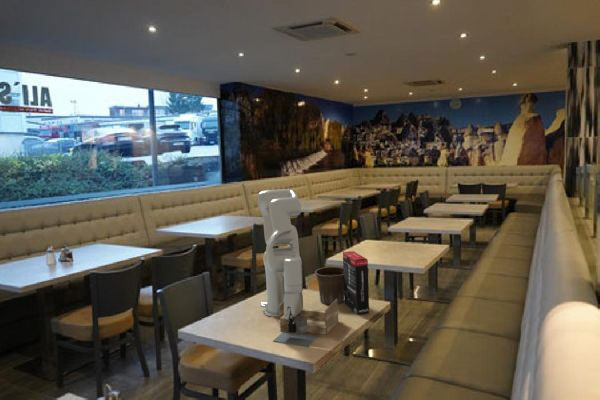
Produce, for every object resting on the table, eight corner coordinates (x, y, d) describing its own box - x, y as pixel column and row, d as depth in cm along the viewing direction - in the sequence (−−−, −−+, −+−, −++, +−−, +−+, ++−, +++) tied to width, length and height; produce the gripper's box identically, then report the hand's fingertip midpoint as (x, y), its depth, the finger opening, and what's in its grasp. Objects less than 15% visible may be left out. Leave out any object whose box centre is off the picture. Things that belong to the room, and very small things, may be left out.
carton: (278, 330, 201) (277, 305, 200) (295, 315, 217) (294, 293, 216) (325, 336, 192) (324, 311, 191) (339, 321, 209) (338, 297, 207)
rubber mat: (273, 341, 189) (273, 340, 189) (283, 332, 198) (283, 331, 198) (308, 347, 183) (308, 346, 183) (317, 337, 192) (317, 336, 192)
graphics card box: (370, 314, 216) (369, 257, 212) (356, 316, 214) (355, 259, 211) (355, 302, 232) (354, 250, 229) (343, 304, 230) (341, 251, 227)
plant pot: (335, 309, 224) (334, 277, 222) (309, 302, 234) (308, 272, 232) (353, 300, 236) (353, 269, 234) (328, 294, 247) (328, 265, 245)
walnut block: (280, 332, 190) (279, 318, 189) (285, 327, 195) (285, 313, 194) (302, 335, 186) (302, 320, 185) (307, 330, 191) (306, 316, 190)
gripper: (293, 280, 197) (295, 321, 199) (276, 292, 182) (278, 336, 184) (309, 282, 194) (311, 323, 196) (293, 294, 179) (295, 339, 181)
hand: (295, 329), depth 190 cm, fingers closed on walnut block, 5 cm apart
